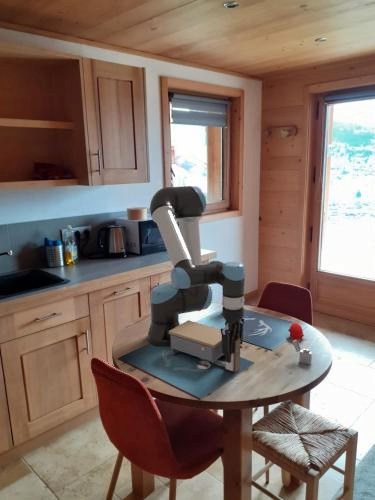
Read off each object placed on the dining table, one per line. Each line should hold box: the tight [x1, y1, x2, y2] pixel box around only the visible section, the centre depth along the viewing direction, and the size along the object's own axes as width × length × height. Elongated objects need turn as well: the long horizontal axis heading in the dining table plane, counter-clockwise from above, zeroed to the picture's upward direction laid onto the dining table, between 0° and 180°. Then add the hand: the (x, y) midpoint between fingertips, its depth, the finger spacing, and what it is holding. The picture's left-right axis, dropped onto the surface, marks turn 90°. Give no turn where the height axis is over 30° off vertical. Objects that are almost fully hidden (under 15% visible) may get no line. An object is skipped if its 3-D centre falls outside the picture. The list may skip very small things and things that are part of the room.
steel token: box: [196, 360, 211, 370], centre depth 143 cm, size 5×5×1 cm
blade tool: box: [198, 337, 241, 374], centre depth 142 cm, size 16×4×12 cm, turn 55°
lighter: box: [292, 340, 313, 365], centre depth 145 cm, size 7×2×8 cm, turn 58°
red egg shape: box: [287, 322, 305, 342], centre depth 164 cm, size 8×6×6 cm
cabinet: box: [169, 319, 226, 362], centre depth 149 cm, size 21×14×10 cm, turn 54°
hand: (232, 366), depth 140 cm, fingers closed on blade tool, 3 cm apart
